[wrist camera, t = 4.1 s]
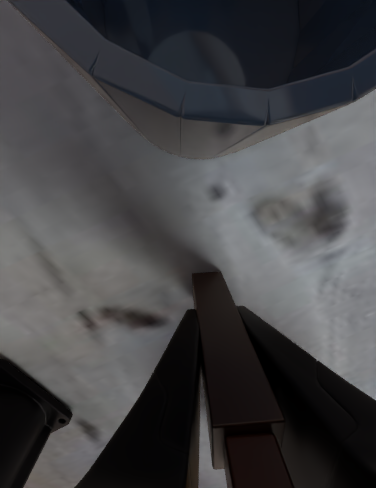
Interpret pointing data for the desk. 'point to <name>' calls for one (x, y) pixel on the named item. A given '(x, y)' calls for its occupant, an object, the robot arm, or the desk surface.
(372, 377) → the desk surface
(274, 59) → the cup
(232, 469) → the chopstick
